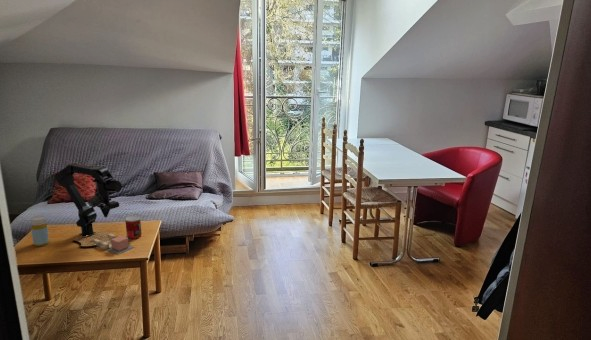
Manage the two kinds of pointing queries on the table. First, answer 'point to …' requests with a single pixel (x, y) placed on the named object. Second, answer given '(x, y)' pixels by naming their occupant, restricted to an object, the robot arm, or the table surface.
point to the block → (120, 243)
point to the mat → (120, 250)
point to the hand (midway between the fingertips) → (105, 217)
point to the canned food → (133, 227)
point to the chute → (107, 244)
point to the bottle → (39, 231)
